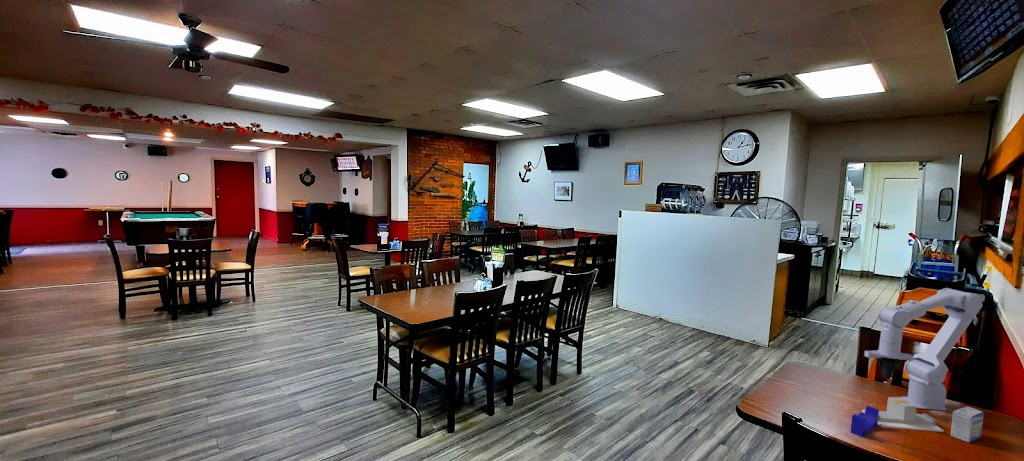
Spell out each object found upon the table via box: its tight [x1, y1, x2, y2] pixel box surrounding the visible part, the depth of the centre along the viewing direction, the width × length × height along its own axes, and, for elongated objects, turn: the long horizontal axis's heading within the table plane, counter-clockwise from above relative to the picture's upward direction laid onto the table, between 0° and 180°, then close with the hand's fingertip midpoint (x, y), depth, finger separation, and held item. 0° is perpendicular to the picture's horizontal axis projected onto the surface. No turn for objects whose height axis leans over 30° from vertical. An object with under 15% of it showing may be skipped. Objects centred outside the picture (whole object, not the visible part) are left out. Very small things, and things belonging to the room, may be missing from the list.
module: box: [886, 396, 917, 421], centre depth 144 cm, size 4×6×5 cm
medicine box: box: [950, 405, 985, 444], centre depth 135 cm, size 8×4×9 cm, turn 114°
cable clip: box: [850, 405, 880, 438], centre depth 140 cm, size 12×4×6 cm, turn 121°
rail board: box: [861, 409, 945, 433], centre depth 144 cm, size 18×10×2 cm, turn 82°
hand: (885, 377), depth 154 cm, fingers closed
